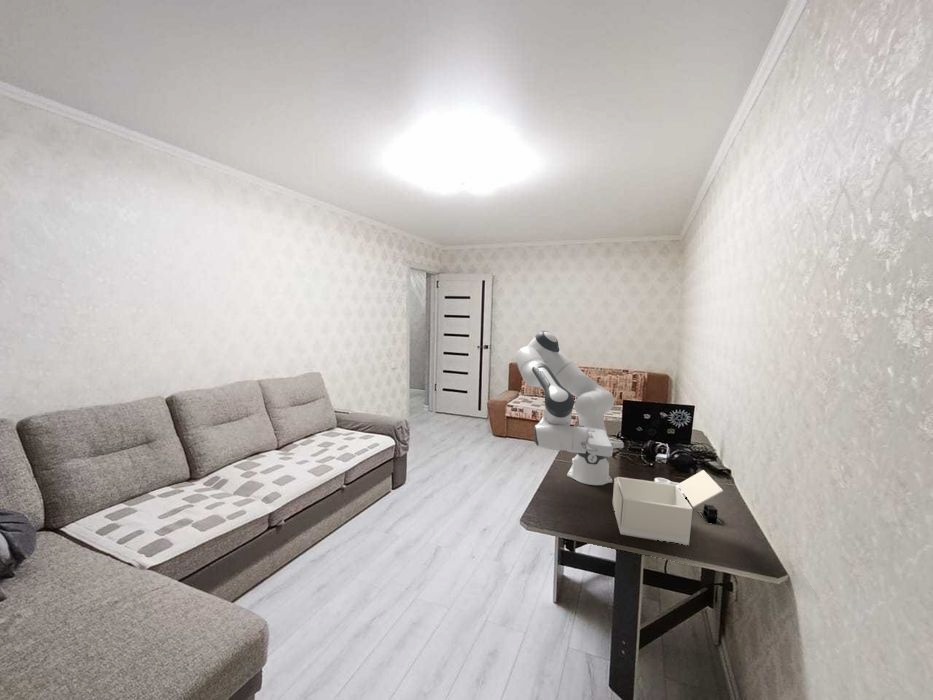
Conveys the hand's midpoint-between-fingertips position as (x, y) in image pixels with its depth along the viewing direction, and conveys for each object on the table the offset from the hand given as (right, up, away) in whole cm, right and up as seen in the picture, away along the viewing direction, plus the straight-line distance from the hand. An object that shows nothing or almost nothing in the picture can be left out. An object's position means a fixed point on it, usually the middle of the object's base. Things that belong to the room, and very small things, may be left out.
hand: (622, 444), depth 133 cm
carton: (+8, -28, 0) cm, 29 cm away
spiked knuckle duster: (+30, -27, +26) cm, 48 cm away
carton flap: (+23, -13, -5) cm, 27 cm away
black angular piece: (+34, -29, +8) cm, 46 cm away
